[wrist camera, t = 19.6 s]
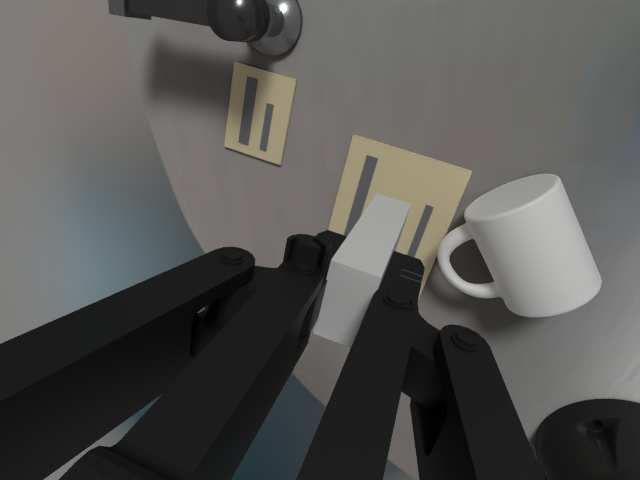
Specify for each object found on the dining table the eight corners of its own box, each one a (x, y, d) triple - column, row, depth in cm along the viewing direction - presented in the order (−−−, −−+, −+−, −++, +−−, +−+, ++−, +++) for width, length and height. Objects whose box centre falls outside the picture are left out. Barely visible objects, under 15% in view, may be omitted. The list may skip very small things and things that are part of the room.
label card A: (281, 164, 45) (279, 165, 44) (225, 145, 46) (223, 146, 46) (297, 79, 41) (295, 79, 40) (235, 61, 42) (233, 61, 42)
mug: (550, 164, 36) (569, 189, 29) (589, 258, 38) (615, 302, 31) (425, 215, 42) (416, 246, 35) (464, 295, 44) (463, 339, 37)
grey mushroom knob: (295, 62, 40) (276, 62, 36) (241, 47, 41) (217, 45, 37) (308, -7, 37) (288, -16, 33) (250, -22, 38) (224, -31, 34)
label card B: (416, 303, 46) (416, 305, 46) (318, 266, 48) (317, 267, 48) (472, 170, 39) (472, 171, 38) (353, 134, 41) (352, 134, 41)
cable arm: (273, -7, 34) (253, -14, 31) (268, 46, 35) (249, 44, 32) (135, -28, 37) (104, -36, 34) (137, 22, 38) (108, 18, 35)
